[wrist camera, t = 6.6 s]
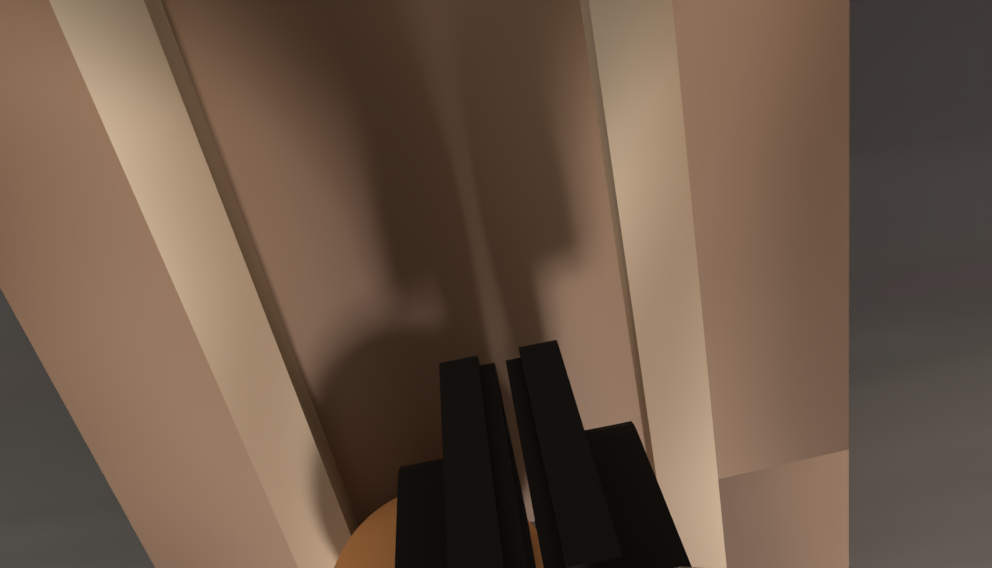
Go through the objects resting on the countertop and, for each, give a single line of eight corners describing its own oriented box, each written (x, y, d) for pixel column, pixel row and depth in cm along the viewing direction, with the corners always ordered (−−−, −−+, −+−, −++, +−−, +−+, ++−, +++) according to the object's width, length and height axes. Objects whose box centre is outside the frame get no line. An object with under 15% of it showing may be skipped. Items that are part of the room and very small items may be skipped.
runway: (746, -625, 10) (885, -834, 7) (800, 676, 20) (861, 799, 18) (-234, -400, 10) (-496, -520, 7) (342, 781, 20) (331, 921, 18)
